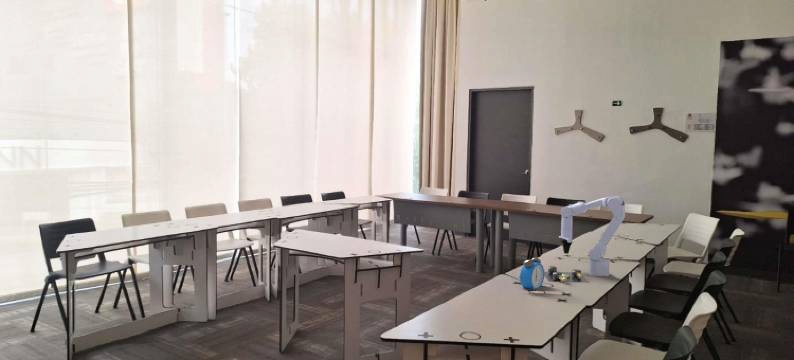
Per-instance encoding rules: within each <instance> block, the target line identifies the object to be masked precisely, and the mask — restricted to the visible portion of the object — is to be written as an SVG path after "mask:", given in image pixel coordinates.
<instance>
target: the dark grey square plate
mask: <svg viewBox="0 0 794 360" xmlns="http://www.w3.org/2000/svg"><path fill="white" fill-rule="evenodd" d="M560 272H561V273H562V275H563V276H565V277H566V278H567V280H566V281H563V280H553V274H549V273H548V271H544V278H545V279H546V281H548V282H549V283H581V284H582V283H585V284H586V283H587V284H588V283H589V284H590V281H589V280H588V279H587V278H586V276H584V275H583V274H582V273H581V275H582V278H575V277H572V272H571V271H570V272H569V271H568V272H567V271H565V272H564V271H560Z"/></svg>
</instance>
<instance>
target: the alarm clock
mask: <svg viewBox="0 0 794 360" xmlns="http://www.w3.org/2000/svg"><path fill="white" fill-rule="evenodd" d="M522 264H523V265H522V267H521V269H520V273H519V274H520V275H519V280H520V281H519V282H520V285H521V287H523V288H525V289H529V290H531V292H533V291H534V290H537V289H538V288H541V287H542V285H543V283H544V279H545V276H544V272H545V269H544V265H543V264H542V260H541V259H540V258H538V257H537V256H536V257H532V258H531V259H525V260H524V261H523V263H522Z"/></svg>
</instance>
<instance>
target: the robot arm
mask: <svg viewBox="0 0 794 360" xmlns="http://www.w3.org/2000/svg"><path fill="white" fill-rule="evenodd" d="M600 206H601V207H605V208H607V207H608V208H609V210H610V211H611V214H612V215H613V217H612V219H611V220H610V222H609V223H608V225H607V227H606V229H605V231H604V232H603V234H602V235H601V236H600V239H599V240H598V241H597V243H596V244H595V246H594V247H593V248H591V249H590V250H589V252H588V256H589V270H588V271H589V272H588V274H589V275H590V276H595V277H609V276H610V261H609V260H608V259H605V258H604V257H605V255H606V252H607V248H608V245H610V243H611V241H612V239H613V237H614V236H615V234H616V233H617V231H618V229H619V228H620V226H621V224H622V222H623V221H624V220H625V218H626V203H625V201H624V198H623V197H621V195H613V196H607V197H602V198H598V199H595V200H592V201H589V202H584V201H577V202H576V203H574V204H573V203H572V204H571V203H569V204H568V205H566V206H563V207H562V208H561V209H560V215H561V221H560V222H561V223H560V225H561V226H560V227H561V228H560V235H559V236H558V238H559V239H560V243H561V245H562V250H563V254H566V255H567V254H569V253H570V250H571V245H573V222H574V221H573V216H577V215H580V214H585V213H586V212H587V210H588V209H591V208H593V209H594V208H596V207H597V208H598V207H600Z"/></svg>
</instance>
